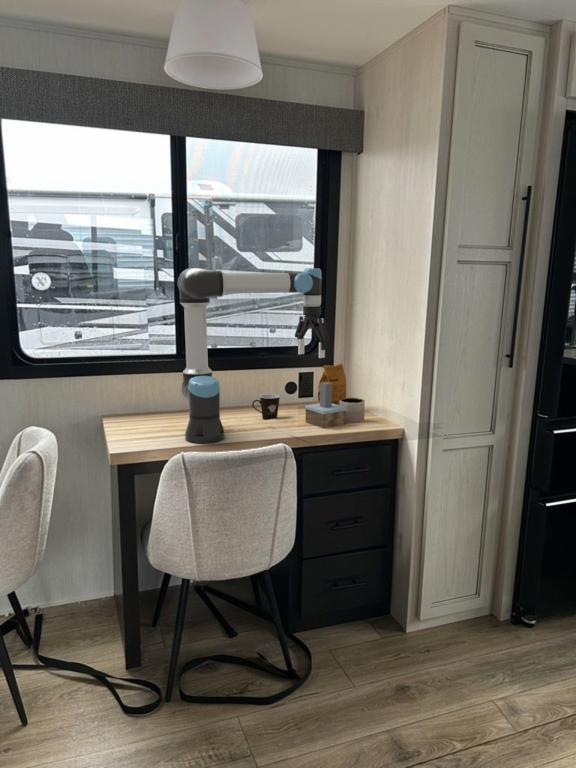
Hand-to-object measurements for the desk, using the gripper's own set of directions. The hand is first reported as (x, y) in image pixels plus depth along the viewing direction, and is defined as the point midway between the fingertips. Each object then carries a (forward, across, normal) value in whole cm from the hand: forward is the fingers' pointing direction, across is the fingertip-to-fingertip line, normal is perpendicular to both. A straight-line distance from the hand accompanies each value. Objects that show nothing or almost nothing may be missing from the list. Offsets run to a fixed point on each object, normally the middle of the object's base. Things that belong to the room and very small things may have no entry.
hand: (311, 355), depth 249 cm
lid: (+23, -10, 0) cm, 25 cm away
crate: (+28, -10, 0) cm, 30 cm away
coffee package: (+29, +9, -20) cm, 36 cm away
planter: (+29, -11, -14) cm, 34 cm away
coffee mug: (+29, +15, +13) cm, 35 cm away
